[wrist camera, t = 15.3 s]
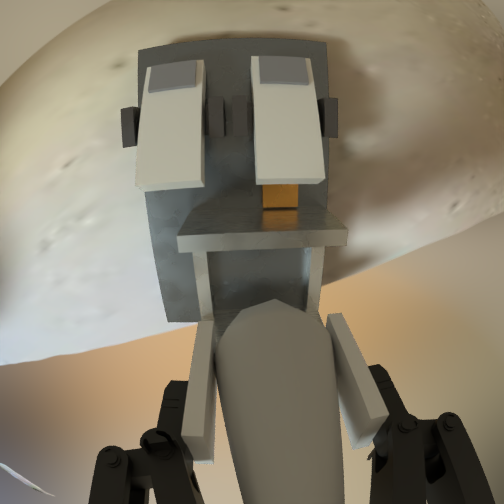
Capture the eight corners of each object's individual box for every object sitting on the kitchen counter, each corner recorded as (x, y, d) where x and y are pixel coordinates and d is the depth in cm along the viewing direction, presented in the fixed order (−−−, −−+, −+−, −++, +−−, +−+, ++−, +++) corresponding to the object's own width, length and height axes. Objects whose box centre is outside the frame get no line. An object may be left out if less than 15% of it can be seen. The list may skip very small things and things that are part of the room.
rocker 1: (144, 191, 15) (133, 184, 13) (153, 80, 15) (146, 64, 13) (204, 186, 15) (199, 178, 14) (206, 73, 15) (202, 56, 14)
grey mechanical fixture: (172, 306, 26) (155, 362, 19) (148, 58, 17) (110, 29, 10) (310, 300, 26) (331, 355, 19) (316, 51, 17) (352, 19, 10)
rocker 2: (256, 184, 16) (257, 177, 14) (250, 69, 15) (251, 53, 13) (317, 184, 16) (326, 177, 14) (304, 71, 15) (311, 56, 14)
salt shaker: (198, 305, 14) (163, 585, 2) (306, 268, 13) (416, 562, 2) (241, 374, 16) (250, 579, 5) (330, 347, 16) (396, 552, 4)
